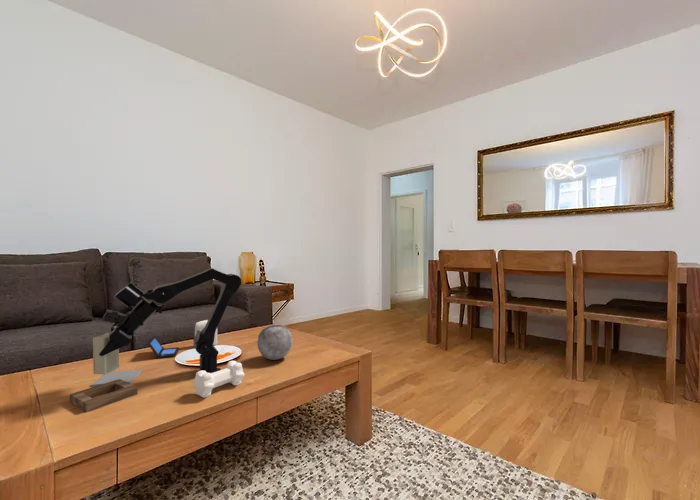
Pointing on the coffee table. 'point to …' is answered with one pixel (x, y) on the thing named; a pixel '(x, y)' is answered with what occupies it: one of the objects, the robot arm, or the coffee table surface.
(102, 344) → the skincare box
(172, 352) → the handheld game console
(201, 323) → the photo printer
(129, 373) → the slate mat
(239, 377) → the white bone
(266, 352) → the decorative orb
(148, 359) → the coffee table surface
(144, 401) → the coffee table surface
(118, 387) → the walnut holder
